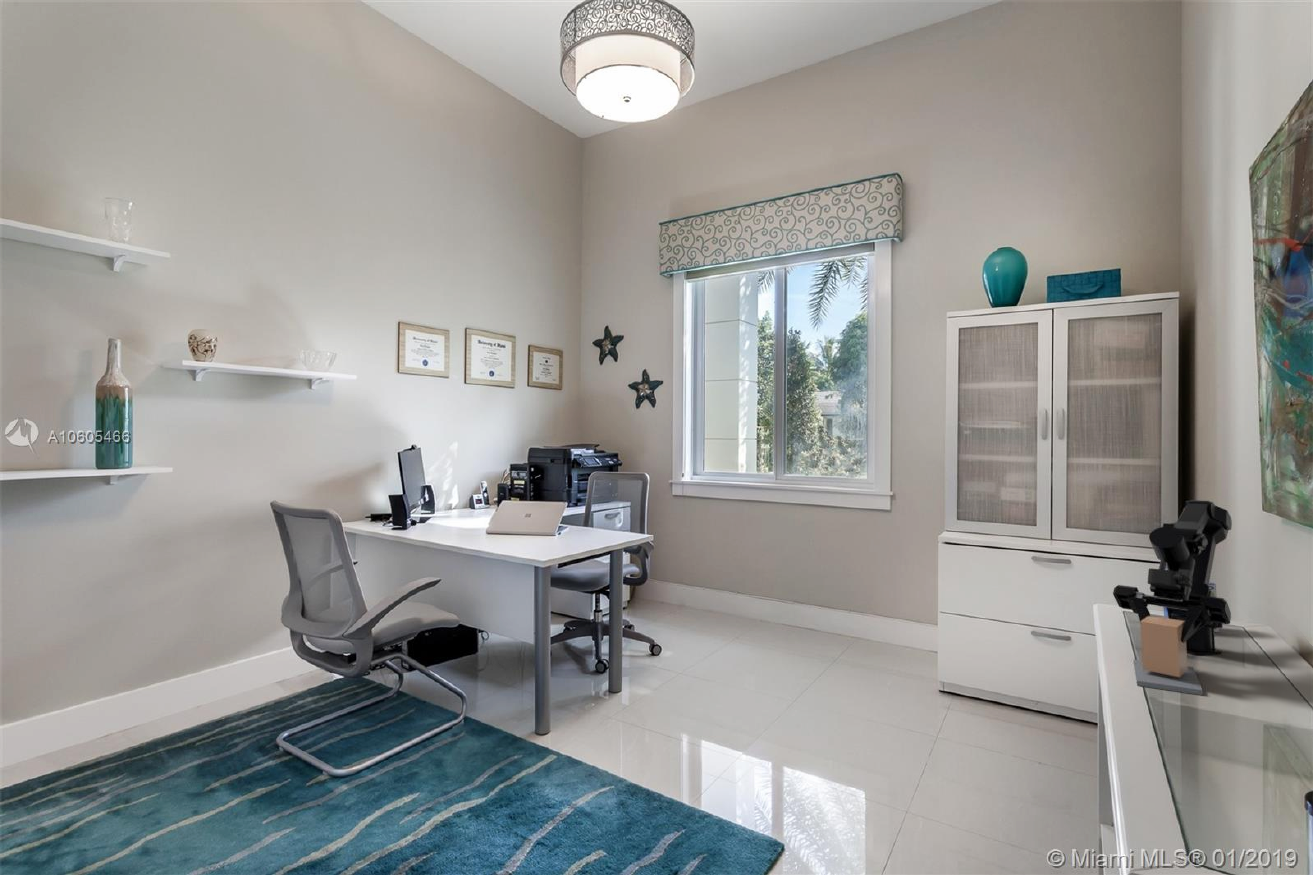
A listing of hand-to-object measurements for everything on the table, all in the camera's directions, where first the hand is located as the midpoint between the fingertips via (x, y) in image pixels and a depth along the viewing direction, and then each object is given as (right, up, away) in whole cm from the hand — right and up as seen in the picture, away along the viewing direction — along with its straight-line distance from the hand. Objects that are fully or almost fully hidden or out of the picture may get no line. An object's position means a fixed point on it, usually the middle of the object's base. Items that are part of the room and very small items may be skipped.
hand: (1162, 638), depth 128 cm
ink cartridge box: (+32, -8, +30) cm, 44 cm away
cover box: (+1, -7, 0) cm, 7 cm away
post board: (+1, -8, 0) cm, 8 cm away
